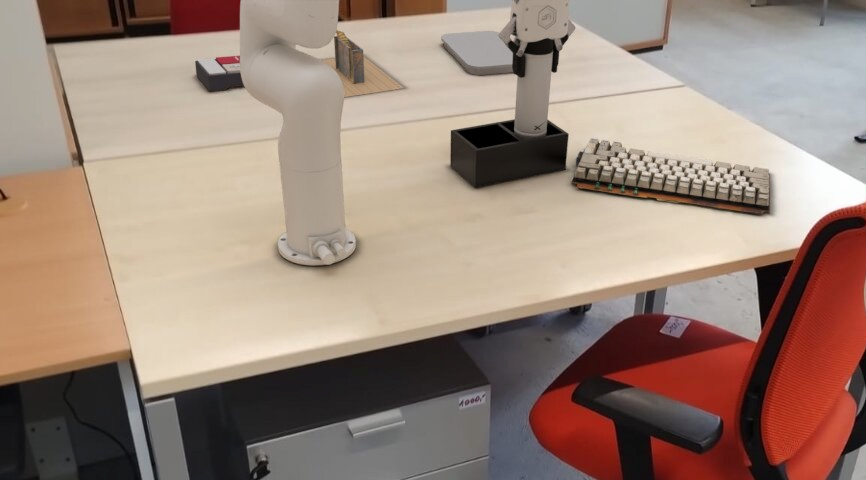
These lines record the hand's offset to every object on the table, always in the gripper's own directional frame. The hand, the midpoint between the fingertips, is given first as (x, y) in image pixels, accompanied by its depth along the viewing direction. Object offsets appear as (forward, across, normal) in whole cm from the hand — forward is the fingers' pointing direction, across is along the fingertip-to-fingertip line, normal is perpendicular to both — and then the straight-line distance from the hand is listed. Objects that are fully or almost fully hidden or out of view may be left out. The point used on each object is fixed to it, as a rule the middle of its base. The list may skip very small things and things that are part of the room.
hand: (535, 72), depth 175 cm
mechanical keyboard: (+19, +21, -18) cm, 34 cm away
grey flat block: (+19, +22, +60) cm, 67 cm away
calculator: (+19, -39, +67) cm, 80 cm away
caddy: (+19, -5, 0) cm, 19 cm away
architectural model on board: (+19, -14, +60) cm, 64 cm away
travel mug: (+13, 0, 0) cm, 13 cm away
